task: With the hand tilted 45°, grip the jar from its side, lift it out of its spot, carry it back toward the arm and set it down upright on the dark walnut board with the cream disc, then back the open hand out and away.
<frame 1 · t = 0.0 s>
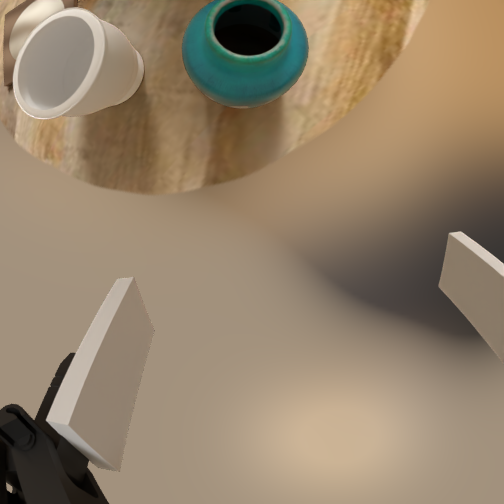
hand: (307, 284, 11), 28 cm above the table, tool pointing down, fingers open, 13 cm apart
walnut board: (39, 29, 24), on the table
vase: (241, 69, 31), on the table
jar: (115, 75, 30), on the table
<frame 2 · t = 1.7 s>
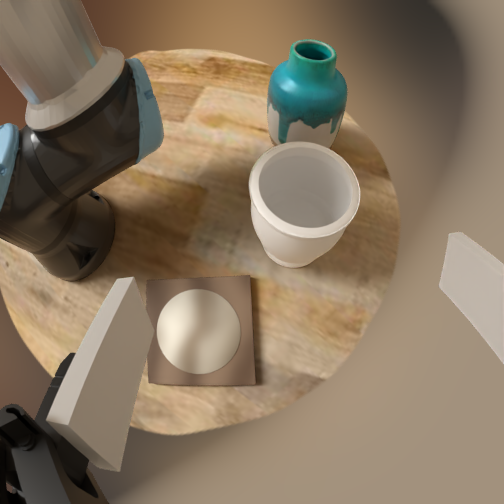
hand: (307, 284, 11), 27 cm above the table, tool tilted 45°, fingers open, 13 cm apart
walnut board: (199, 331, 37), on the table
vase: (299, 145, 45), on the table
jar: (291, 239, 41), on the table
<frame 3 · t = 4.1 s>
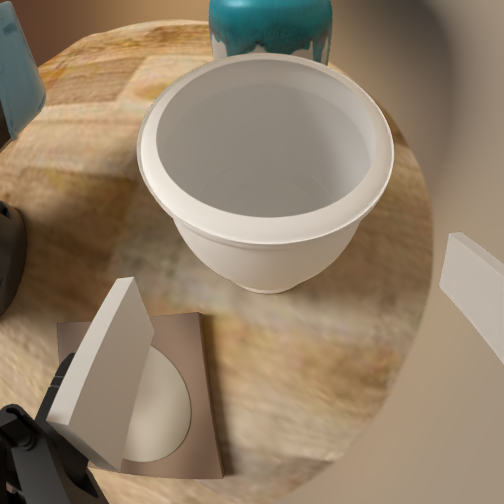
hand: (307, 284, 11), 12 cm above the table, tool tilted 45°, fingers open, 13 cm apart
walnut board: (132, 400, 21), on the table
vase: (271, 107, 30), on the table
jar: (266, 246, 25), on the table
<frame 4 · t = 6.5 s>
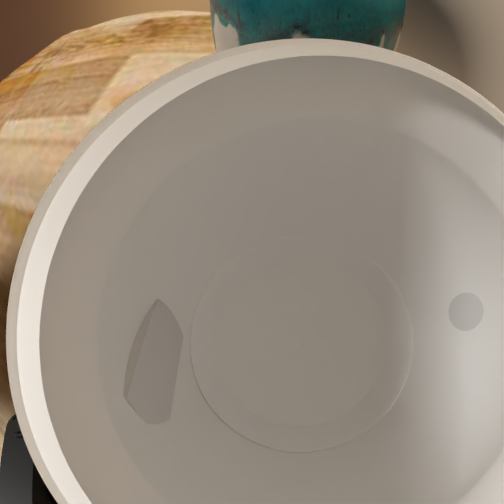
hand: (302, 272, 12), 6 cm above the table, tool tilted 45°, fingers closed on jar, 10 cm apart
vase: (295, 127, 22), on the table
jar: (294, 345, 17), on the table, touching gripper
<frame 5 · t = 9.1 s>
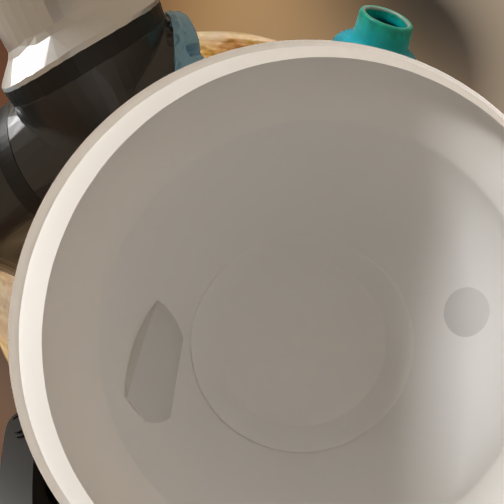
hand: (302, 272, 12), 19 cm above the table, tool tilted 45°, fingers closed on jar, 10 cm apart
vase: (350, 134, 37), on the table
jar: (294, 345, 17), point 12 cm above the table, touching gripper
when the fingers open (9 cm above the table, at t = 11.9 s): jar drops 1 cm, resting on walnut board.
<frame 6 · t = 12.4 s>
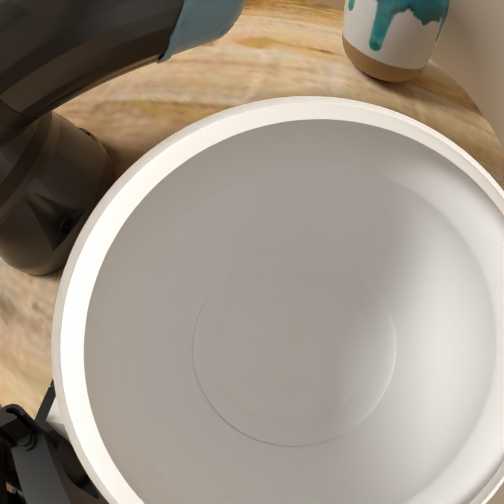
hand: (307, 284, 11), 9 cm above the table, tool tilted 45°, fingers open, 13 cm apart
vase: (377, 70, 28), on the table
jar: (288, 348, 18), point 1 cm above the table, touching walnut board
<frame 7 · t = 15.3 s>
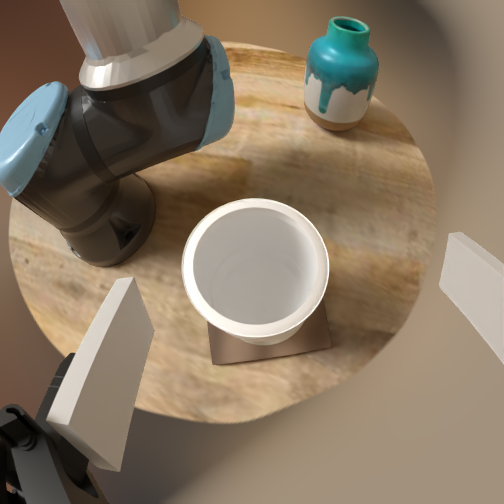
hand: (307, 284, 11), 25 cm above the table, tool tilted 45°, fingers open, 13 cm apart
walnut board: (263, 300, 36), on the table
vase: (331, 119, 45), on the table
jar: (260, 300, 35), point 1 cm above the table, touching walnut board
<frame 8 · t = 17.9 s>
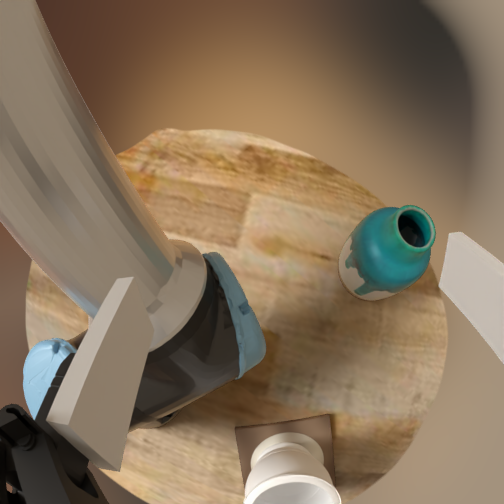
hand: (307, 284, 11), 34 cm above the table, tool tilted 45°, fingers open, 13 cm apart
walnut board: (287, 460, 36), on the table
vase: (362, 273, 45), on the table
jar: (284, 464, 35), point 1 cm above the table, touching walnut board
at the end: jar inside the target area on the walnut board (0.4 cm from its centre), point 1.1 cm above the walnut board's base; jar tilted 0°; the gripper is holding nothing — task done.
